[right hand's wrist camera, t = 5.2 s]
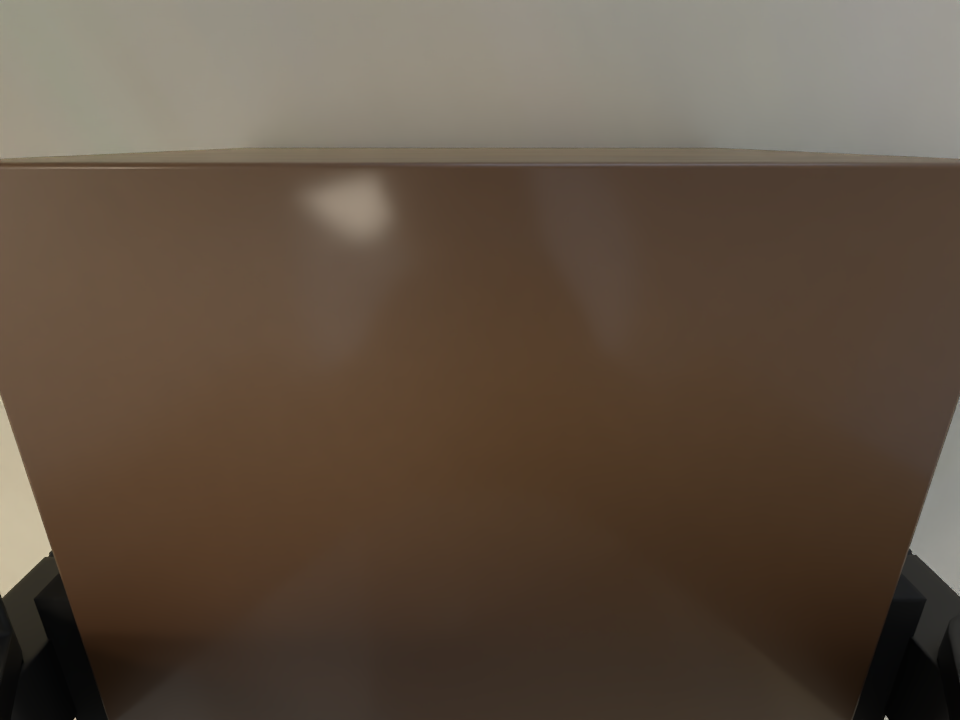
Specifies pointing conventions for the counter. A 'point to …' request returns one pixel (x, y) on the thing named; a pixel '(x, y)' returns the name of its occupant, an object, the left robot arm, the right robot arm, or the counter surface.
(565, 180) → the thick board
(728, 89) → the counter surface
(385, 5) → the counter surface
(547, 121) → the counter surface
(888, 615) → the right robot arm
